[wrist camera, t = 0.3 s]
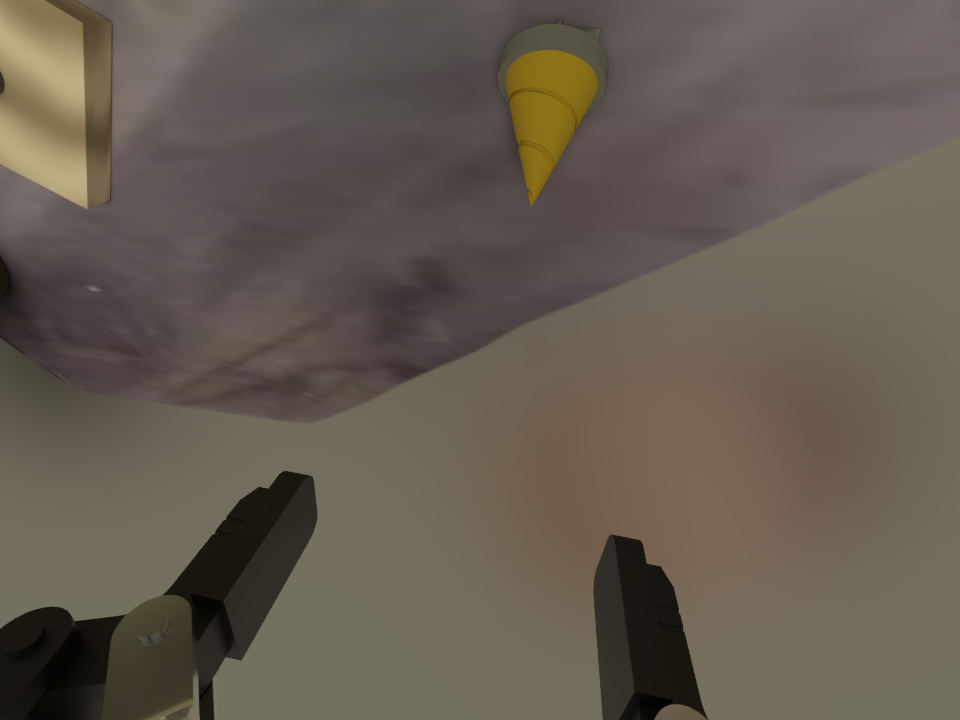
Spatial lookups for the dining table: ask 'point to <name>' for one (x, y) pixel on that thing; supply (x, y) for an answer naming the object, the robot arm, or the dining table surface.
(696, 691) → the robot arm
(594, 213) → the dining table surface
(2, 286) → the plant pot
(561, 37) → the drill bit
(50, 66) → the post block
